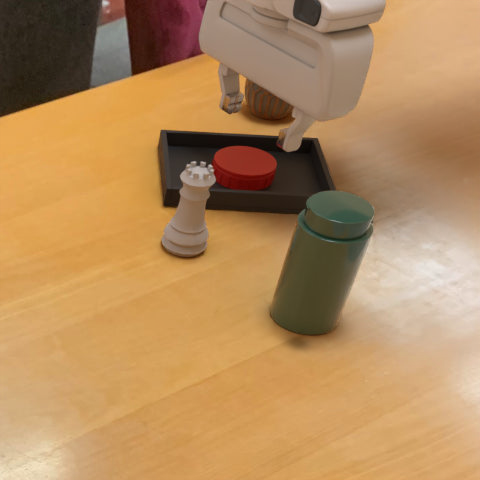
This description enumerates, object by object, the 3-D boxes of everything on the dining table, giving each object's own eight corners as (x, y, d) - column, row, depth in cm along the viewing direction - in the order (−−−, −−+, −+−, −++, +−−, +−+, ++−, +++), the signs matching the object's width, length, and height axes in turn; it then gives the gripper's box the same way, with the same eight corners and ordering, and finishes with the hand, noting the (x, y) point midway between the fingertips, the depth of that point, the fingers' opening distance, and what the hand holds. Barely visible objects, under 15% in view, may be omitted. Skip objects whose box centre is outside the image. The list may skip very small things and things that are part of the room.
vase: (295, 129, 104) (317, 50, 97) (235, 120, 105) (253, 41, 99) (300, 104, 108) (322, 27, 102) (242, 96, 110) (260, 19, 103)
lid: (234, 196, 92) (238, 180, 91) (198, 168, 96) (201, 152, 95) (285, 184, 94) (290, 167, 93) (248, 156, 98) (252, 141, 97)
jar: (331, 297, 81) (371, 189, 74) (344, 337, 77) (387, 228, 70) (265, 293, 82) (297, 185, 74) (274, 333, 78) (309, 223, 70)
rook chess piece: (213, 256, 86) (232, 178, 80) (168, 260, 85) (184, 181, 79) (197, 232, 89) (215, 154, 83) (154, 235, 88) (168, 157, 82)
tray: (312, 155, 100) (317, 137, 98) (333, 216, 91) (339, 198, 89) (157, 146, 101) (160, 129, 99) (163, 206, 92) (166, 188, 90)
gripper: (198, -51, 86) (173, 95, 96) (343, 19, 74) (297, 178, 84) (251, -59, 88) (221, 85, 98) (401, 7, 75) (349, 165, 86)
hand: (257, 129), depth 91 cm, fingers open, 8 cm apart
